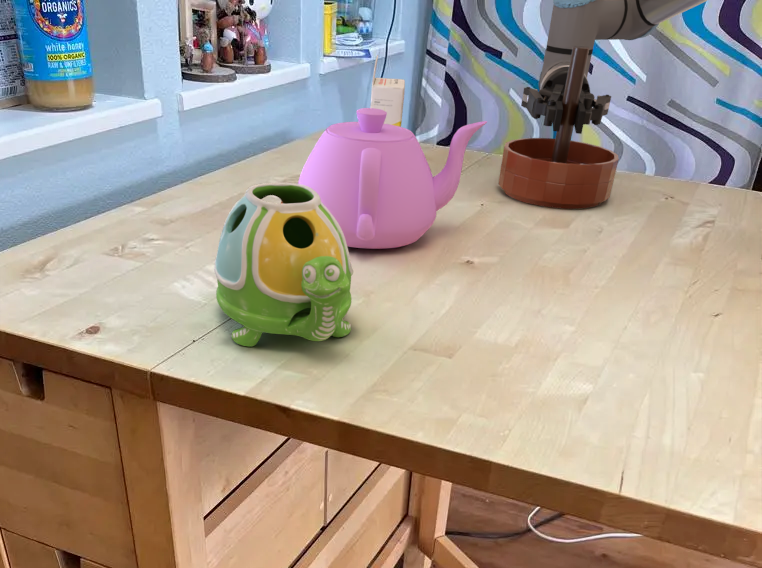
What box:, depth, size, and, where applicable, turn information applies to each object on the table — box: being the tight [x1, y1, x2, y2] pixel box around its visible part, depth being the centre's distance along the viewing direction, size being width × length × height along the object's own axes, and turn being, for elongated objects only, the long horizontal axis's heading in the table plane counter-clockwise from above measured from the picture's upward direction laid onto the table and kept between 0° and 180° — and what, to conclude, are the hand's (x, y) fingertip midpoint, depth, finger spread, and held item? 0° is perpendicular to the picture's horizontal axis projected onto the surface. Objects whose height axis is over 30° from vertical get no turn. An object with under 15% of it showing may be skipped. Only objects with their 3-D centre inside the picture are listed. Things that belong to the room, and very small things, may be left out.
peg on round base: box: [551, 46, 589, 163], centre depth 114 cm, size 6×6×18 cm
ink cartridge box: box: [369, 54, 406, 127], centre depth 123 cm, size 9×5×15 cm, turn 178°
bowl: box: [498, 137, 620, 210], centre depth 118 cm, size 16×16×6 cm
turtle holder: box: [213, 182, 354, 348], centre depth 71 cm, size 12×18×12 cm
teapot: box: [297, 107, 488, 250], centre depth 95 cm, size 22×22×14 cm
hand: (569, 121), depth 109 cm, fingers open, 2 cm apart
